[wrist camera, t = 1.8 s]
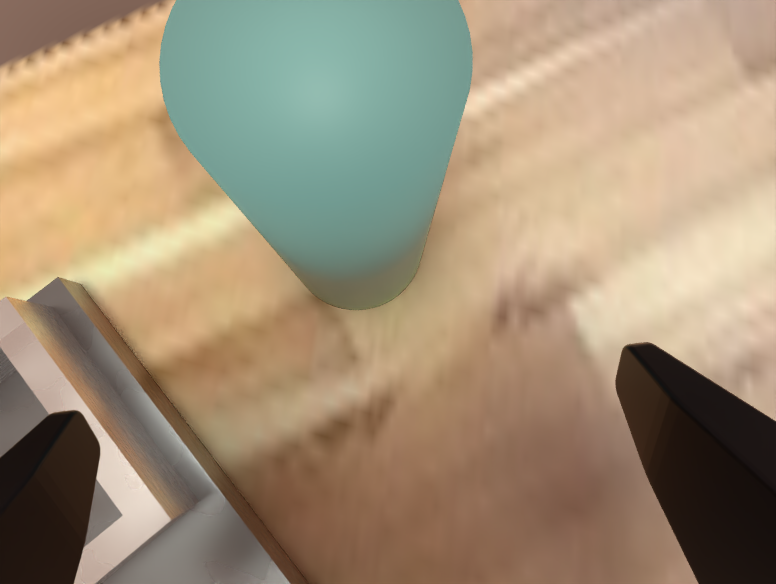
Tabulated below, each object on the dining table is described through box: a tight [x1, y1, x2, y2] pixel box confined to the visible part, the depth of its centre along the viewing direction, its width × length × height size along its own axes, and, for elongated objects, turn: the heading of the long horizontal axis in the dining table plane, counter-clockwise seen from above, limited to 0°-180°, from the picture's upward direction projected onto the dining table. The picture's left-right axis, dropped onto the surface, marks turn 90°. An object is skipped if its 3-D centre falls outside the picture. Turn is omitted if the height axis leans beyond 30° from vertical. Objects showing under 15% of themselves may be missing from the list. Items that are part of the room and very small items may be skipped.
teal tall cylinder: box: [160, 0, 472, 310], centre depth 16 cm, size 5×5×13 cm
